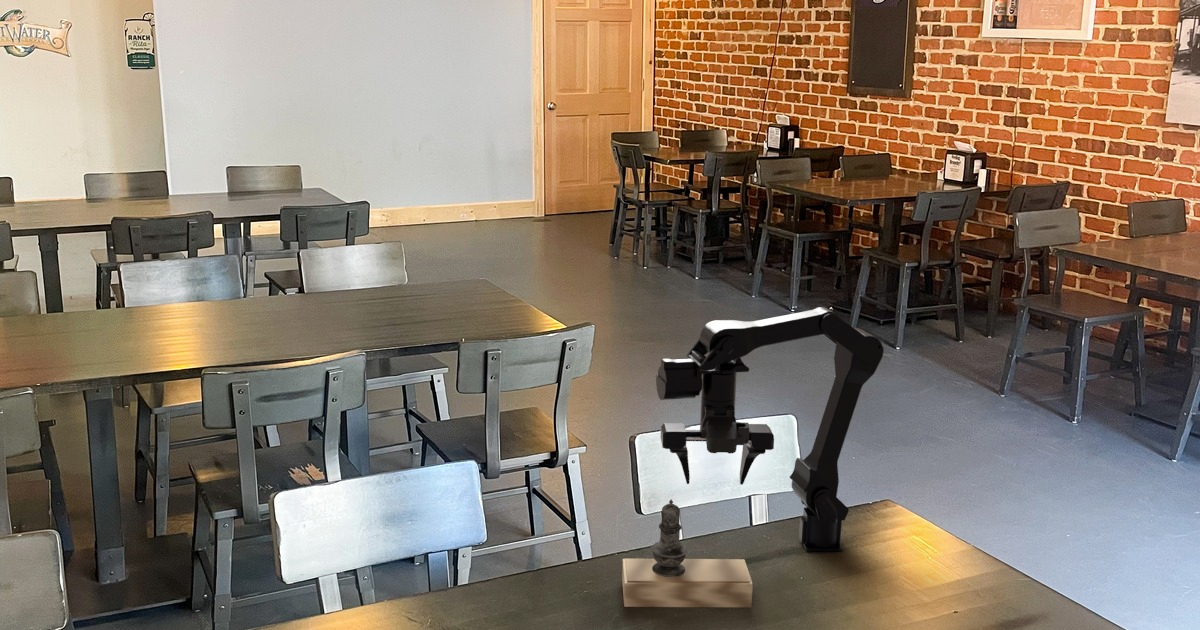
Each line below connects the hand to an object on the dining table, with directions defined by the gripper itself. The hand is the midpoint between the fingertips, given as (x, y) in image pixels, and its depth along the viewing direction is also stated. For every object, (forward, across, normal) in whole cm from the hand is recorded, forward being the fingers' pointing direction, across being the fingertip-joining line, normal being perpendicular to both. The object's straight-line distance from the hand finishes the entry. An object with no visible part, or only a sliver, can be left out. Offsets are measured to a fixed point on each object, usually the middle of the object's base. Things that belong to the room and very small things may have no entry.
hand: (714, 483), depth 184 cm
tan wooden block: (+13, -6, -15) cm, 21 cm away
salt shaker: (+9, -9, -15) cm, 19 cm away
